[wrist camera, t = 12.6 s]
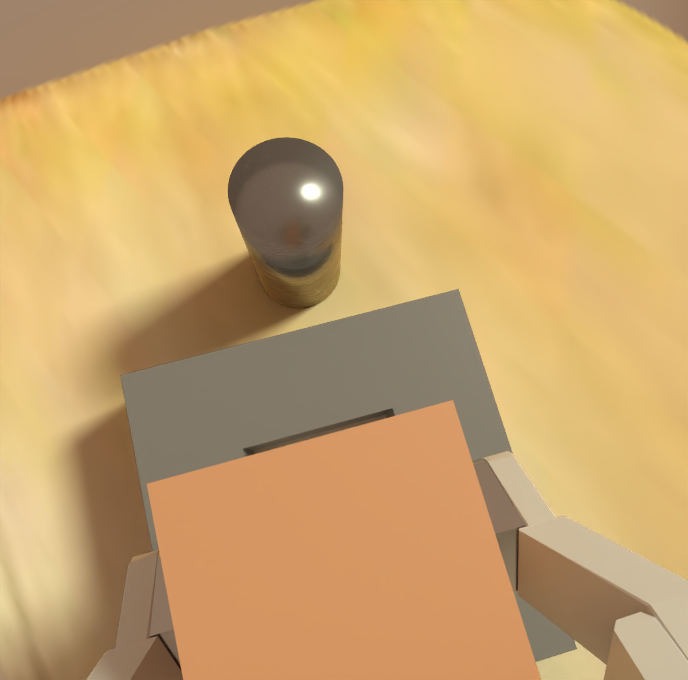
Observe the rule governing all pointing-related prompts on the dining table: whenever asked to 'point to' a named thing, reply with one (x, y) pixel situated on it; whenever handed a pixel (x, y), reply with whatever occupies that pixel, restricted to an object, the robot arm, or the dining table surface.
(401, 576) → the square bit
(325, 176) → the cylinder
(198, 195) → the dining table surface
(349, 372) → the holder block
